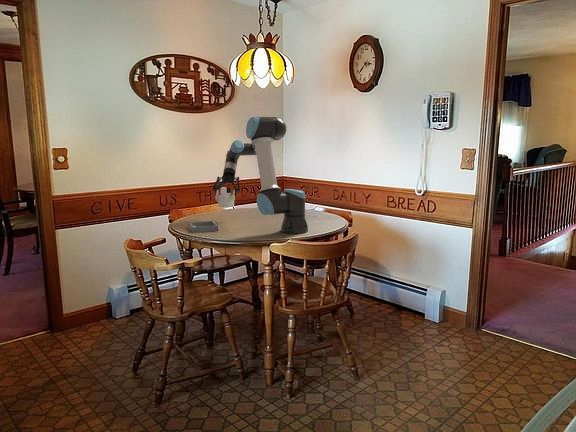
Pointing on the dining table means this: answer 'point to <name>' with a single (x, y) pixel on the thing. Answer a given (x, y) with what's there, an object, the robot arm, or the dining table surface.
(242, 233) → the dining table surface
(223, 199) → the medicine bottle
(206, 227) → the pill tray
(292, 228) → the robot arm
